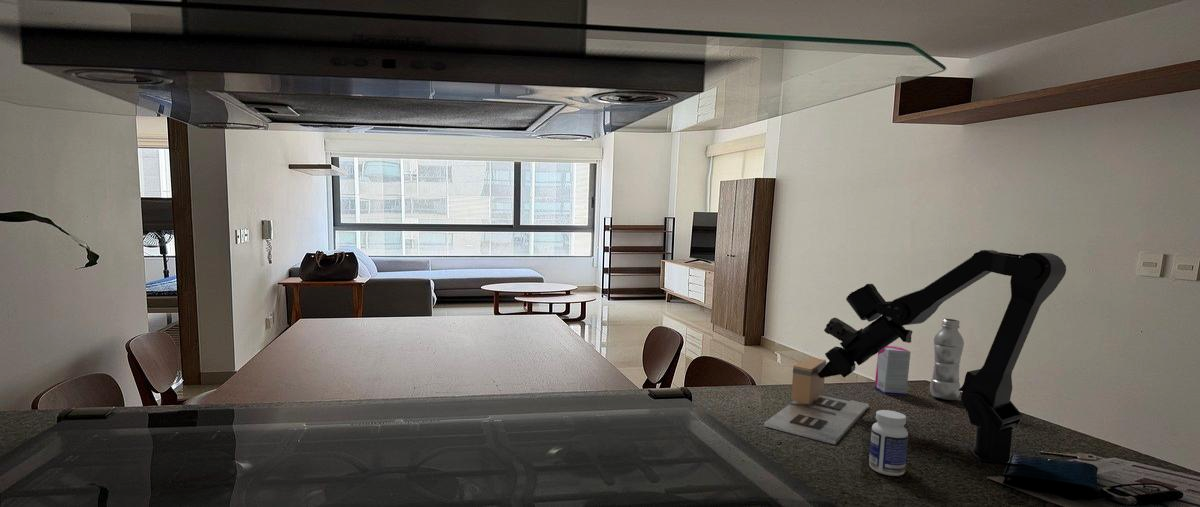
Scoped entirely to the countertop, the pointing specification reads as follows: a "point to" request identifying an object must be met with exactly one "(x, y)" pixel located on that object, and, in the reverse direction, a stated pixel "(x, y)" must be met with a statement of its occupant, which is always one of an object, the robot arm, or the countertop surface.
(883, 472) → the pill bottle
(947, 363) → the plastic bottle
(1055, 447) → the countertop surface
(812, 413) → the label panel
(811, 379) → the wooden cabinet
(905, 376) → the supplement box
